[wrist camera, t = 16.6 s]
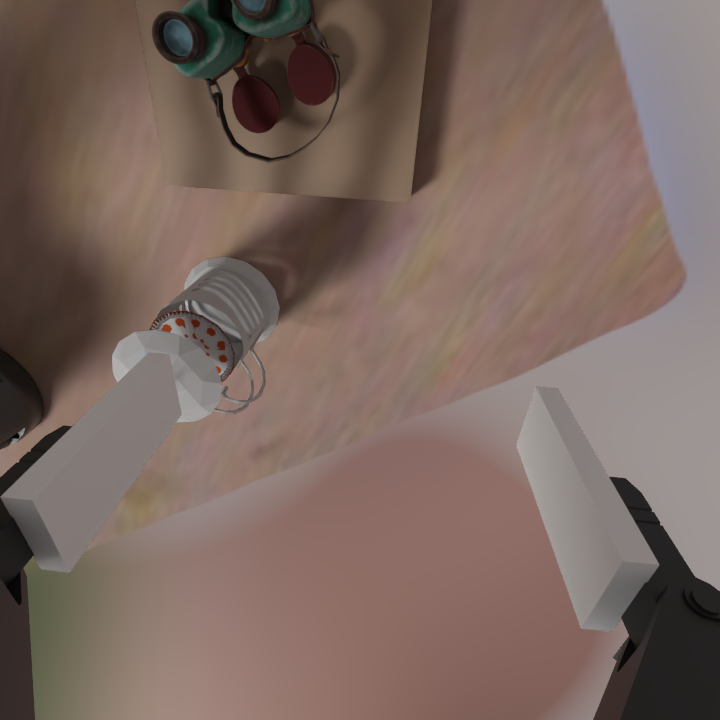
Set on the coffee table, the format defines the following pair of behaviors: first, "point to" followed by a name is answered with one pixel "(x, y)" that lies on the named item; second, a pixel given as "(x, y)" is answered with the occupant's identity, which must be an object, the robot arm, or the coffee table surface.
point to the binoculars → (248, 56)
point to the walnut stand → (304, 108)
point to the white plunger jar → (207, 333)
